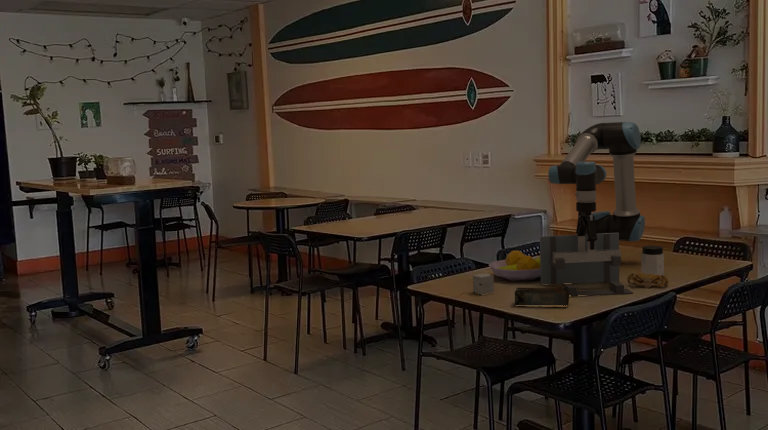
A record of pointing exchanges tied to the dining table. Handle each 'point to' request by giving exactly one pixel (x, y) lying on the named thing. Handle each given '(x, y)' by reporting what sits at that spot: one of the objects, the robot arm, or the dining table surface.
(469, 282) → the dining table surface
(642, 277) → the crab model
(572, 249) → the panel
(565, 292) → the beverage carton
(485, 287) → the skincare box
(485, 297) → the dining table surface
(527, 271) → the fruit bowl
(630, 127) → the robot arm
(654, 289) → the dining table surface
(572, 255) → the rail
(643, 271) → the jar
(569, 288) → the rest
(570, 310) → the dining table surface
